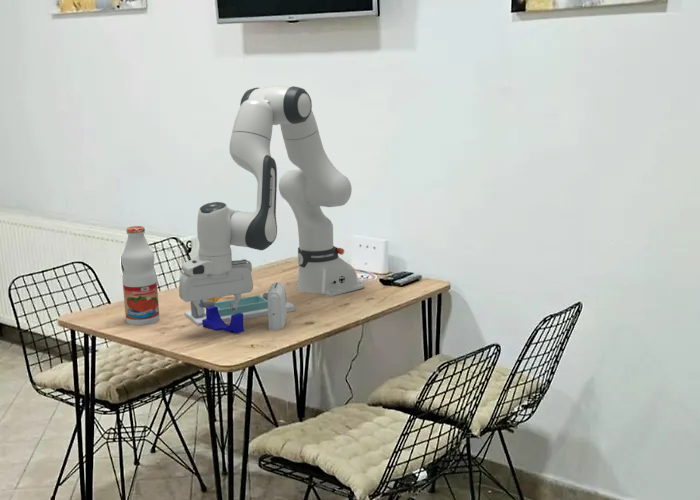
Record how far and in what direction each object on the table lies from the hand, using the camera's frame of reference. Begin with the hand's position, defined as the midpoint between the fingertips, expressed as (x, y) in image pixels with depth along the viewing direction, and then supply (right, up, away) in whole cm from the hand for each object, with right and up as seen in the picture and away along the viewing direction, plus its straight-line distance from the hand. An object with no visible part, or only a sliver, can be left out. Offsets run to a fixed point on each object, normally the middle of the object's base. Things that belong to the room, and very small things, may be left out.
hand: (217, 312), depth 230 cm
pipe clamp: (-7, +1, +32) cm, 33 cm away
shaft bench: (+4, -2, +18) cm, 18 cm away
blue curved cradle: (+1, -6, +3) cm, 7 cm away
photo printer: (+16, -5, +7) cm, 18 cm away
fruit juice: (-23, -4, +11) cm, 26 cm away
